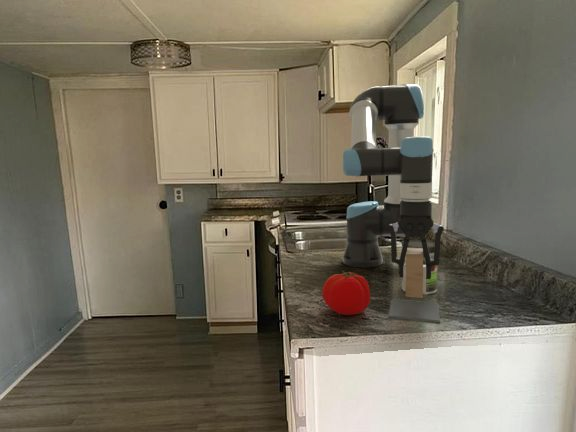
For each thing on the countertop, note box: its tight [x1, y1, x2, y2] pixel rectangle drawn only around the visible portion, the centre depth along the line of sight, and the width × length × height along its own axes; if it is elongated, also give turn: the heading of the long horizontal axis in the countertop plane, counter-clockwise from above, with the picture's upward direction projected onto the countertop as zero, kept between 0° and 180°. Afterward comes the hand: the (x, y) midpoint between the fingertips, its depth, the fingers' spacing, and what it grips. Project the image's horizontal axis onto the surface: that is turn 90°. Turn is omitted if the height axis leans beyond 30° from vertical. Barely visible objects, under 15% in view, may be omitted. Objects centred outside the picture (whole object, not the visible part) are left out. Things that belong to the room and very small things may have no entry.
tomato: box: [321, 270, 372, 316], centre depth 99 cm, size 13×12×11 cm
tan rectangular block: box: [405, 248, 424, 299], centre depth 97 cm, size 7×4×11 cm, turn 160°
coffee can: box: [401, 239, 438, 296], centre depth 114 cm, size 10×10×14 cm
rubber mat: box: [387, 298, 441, 324], centre depth 98 cm, size 12×12×1 cm
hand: (414, 289), depth 97 cm, fingers closed on tan rectangular block, 4 cm apart
